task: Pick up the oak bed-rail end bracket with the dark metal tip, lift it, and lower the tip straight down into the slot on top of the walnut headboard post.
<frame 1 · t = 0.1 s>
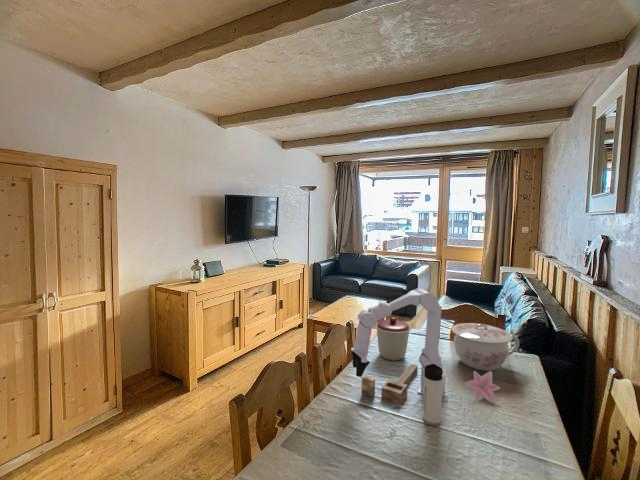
hand: (357, 371, 134), 10 cm above the table, tool pointing down, fingers open, 7 cm apart
canister: (392, 356, 173), on the table
lily: (482, 396, 135), on the table
travel mug: (431, 420, 119), on the table
chamber pot: (479, 365, 164), on the table
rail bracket: (368, 396, 134), on the table
headboard post: (394, 396, 134), on the table
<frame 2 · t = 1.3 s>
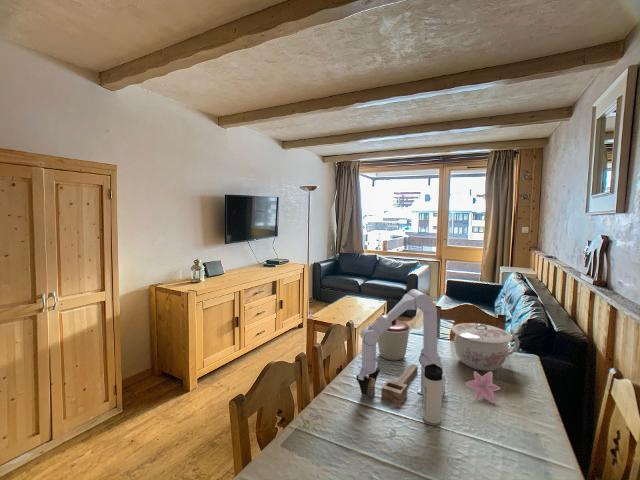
hand: (368, 389, 134), 3 cm above the table, tool pointing down, fingers open, 7 cm apart
nothing on the table moved.
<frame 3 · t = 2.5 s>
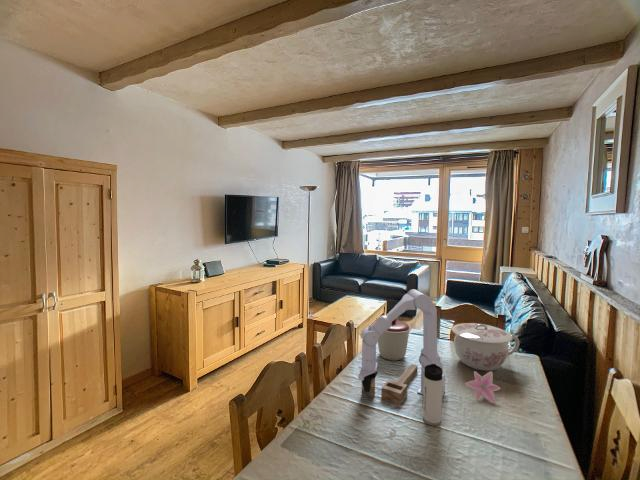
hand: (368, 389, 134), 3 cm above the table, tool pointing down, fingers closed on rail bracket, 2 cm apart
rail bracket: (368, 396, 134), on the table, touching gripper
everything else where it was.
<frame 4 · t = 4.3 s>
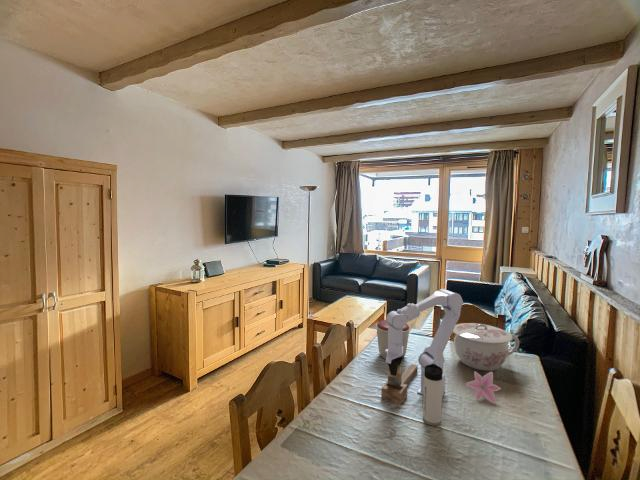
hand: (394, 373, 134), 10 cm above the table, tool pointing down, fingers closed on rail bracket
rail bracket: (394, 383, 134), point 6 cm above the table, touching gripper
everything else where it was.
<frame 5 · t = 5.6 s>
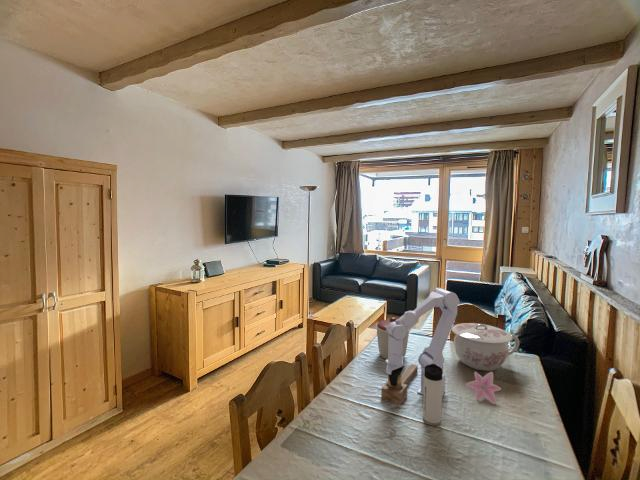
hand: (394, 384, 134), 5 cm above the table, tool pointing down, fingers closed on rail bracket, 2 cm apart
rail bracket: (394, 393, 134), point 1 cm above the table, touching gripper, headboard post
everything else where it was.
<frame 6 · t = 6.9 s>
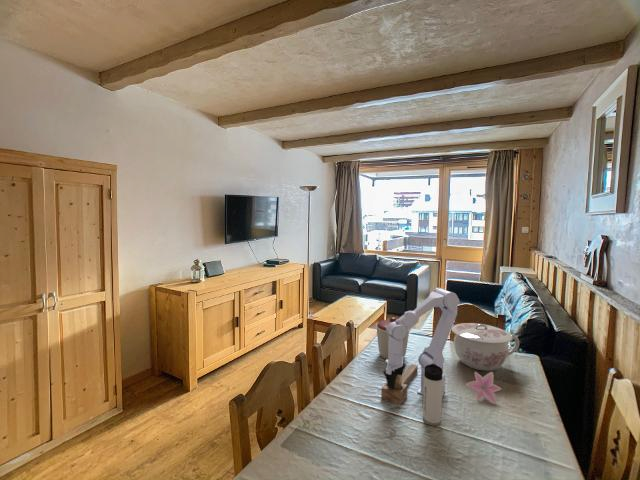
hand: (394, 384, 134), 5 cm above the table, tool pointing down, fingers open, 7 cm apart
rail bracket: (394, 393, 134), point 1 cm above the table, touching headboard post
everything else where it was.
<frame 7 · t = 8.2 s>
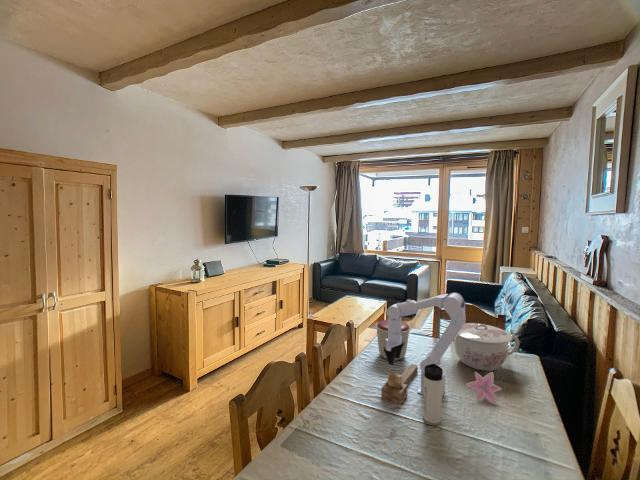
hand: (393, 360, 146), 9 cm above the table, tool pointing down, fingers open, 7 cm apart
nothing on the table moved.
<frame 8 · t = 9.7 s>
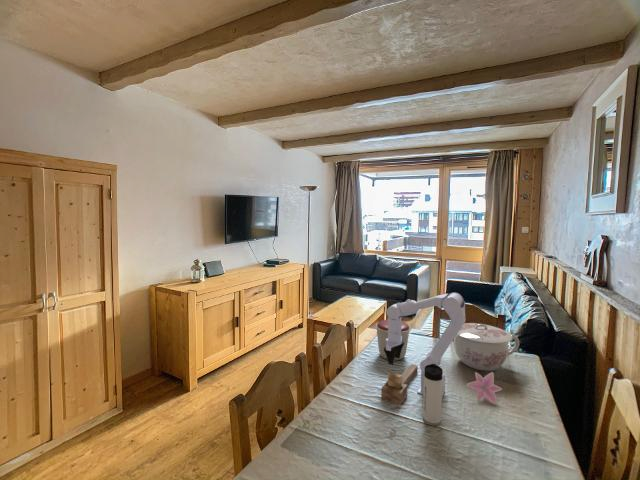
hand: (393, 360, 146), 9 cm above the table, tool pointing down, fingers open, 7 cm apart
nothing on the table moved.
at the end: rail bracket 0.0 cm off-centre on the headboard post, point 1.5 cm above the headboard post's base; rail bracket tilted 0°; the gripper is holding nothing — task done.
